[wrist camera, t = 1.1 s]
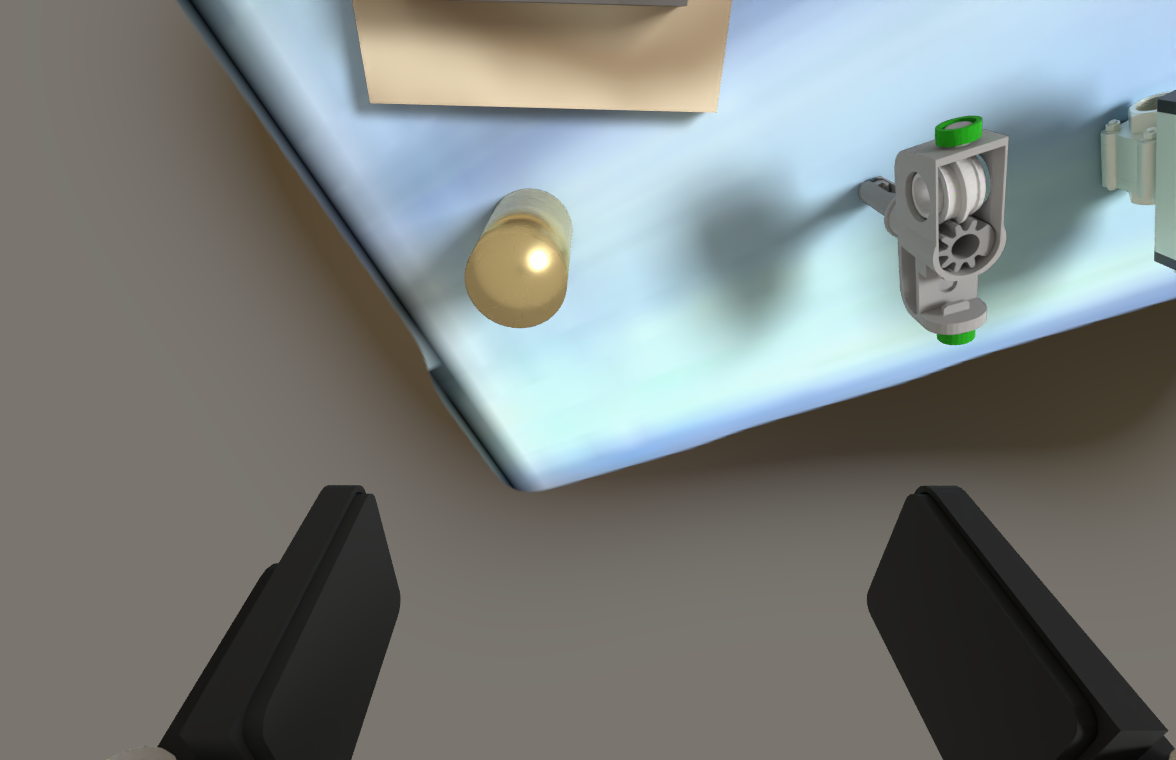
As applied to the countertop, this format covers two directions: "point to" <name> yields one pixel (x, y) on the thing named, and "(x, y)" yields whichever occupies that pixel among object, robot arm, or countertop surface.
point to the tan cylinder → (521, 260)
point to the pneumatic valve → (1146, 164)
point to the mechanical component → (945, 223)
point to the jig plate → (545, 53)
